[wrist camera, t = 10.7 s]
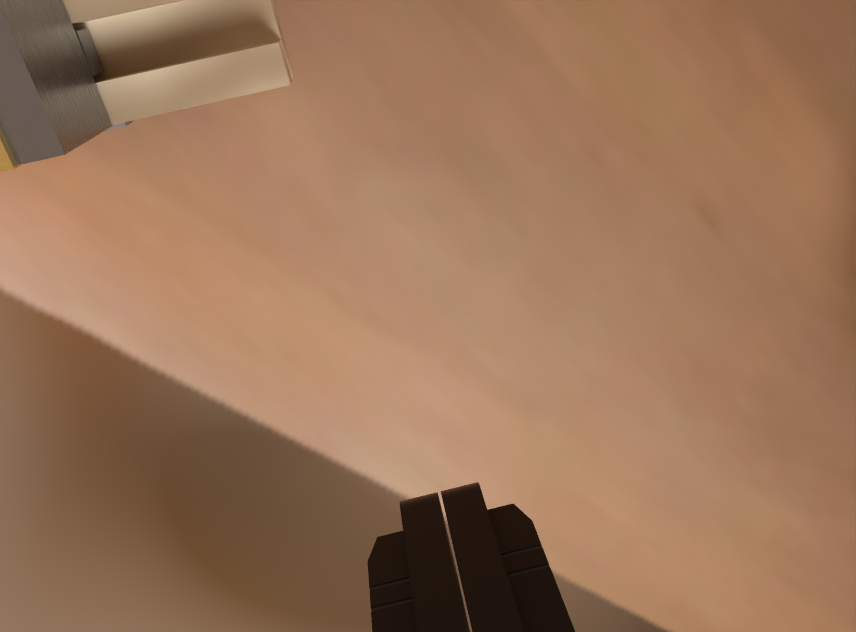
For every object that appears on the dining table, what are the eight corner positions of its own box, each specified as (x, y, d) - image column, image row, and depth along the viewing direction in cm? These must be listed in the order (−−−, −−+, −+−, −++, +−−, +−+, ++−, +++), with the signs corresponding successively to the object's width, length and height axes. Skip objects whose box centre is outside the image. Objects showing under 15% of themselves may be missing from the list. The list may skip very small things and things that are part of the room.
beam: (-175, 26, 32) (-284, 33, 27) (258, -68, 33) (244, -82, 27) (-97, 169, 35) (-178, 203, 30) (299, 80, 36) (293, 96, 30)
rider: (-28, -5, 28) (-150, -5, 21) (67, -26, 29) (-22, -33, 21) (38, 139, 31) (-51, 183, 24) (124, 120, 31) (62, 158, 24)
